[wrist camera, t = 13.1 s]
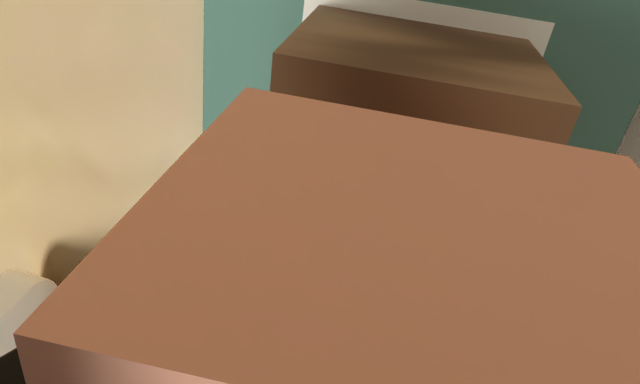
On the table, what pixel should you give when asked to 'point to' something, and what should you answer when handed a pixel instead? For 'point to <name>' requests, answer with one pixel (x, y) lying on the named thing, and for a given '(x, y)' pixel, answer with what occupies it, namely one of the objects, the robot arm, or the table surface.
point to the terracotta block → (356, 260)
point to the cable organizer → (19, 302)
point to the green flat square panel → (461, 12)
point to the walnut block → (425, 73)
